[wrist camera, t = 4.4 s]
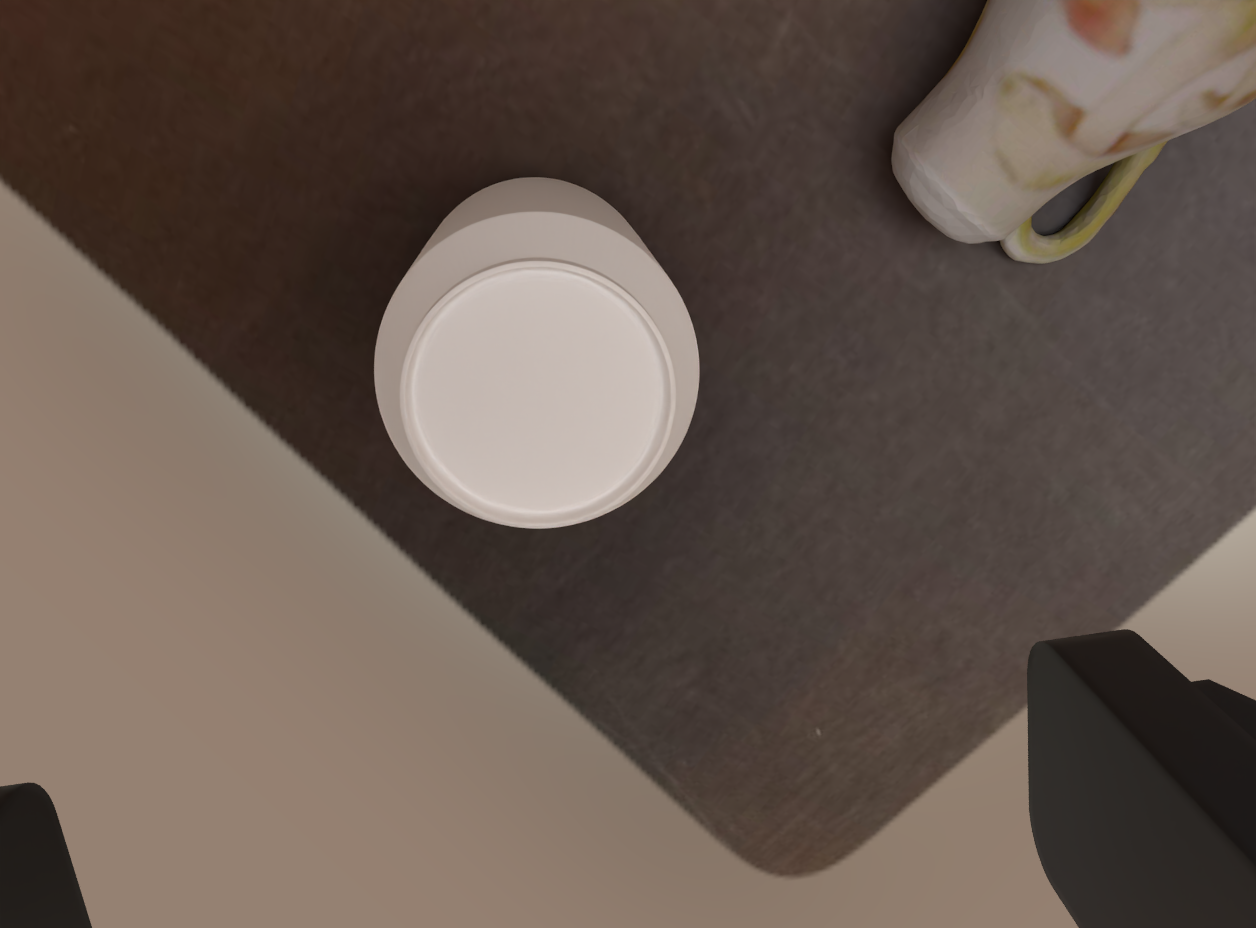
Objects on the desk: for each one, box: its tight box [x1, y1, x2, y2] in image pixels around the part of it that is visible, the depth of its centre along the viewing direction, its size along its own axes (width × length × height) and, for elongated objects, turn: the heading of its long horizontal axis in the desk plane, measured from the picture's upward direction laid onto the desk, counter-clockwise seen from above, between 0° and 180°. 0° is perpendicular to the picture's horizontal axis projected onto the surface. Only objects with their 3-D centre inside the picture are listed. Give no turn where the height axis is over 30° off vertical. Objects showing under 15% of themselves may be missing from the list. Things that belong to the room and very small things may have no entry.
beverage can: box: [374, 177, 699, 528], centre depth 27 cm, size 6×6×12 cm
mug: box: [891, 0, 1256, 264], centre depth 29 cm, size 8×10×10 cm
